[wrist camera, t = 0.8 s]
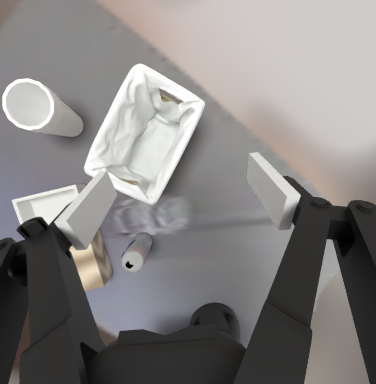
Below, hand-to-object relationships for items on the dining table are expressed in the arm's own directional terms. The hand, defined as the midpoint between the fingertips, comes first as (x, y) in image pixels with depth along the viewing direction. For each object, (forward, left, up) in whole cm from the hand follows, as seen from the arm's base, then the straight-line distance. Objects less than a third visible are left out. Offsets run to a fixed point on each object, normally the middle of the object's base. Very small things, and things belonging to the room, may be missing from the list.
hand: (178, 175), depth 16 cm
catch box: (-2, +34, -32) cm, 47 cm away
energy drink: (-16, +15, -33) cm, 39 cm away
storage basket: (+9, +5, -33) cm, 34 cm away
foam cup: (+20, +25, -33) cm, 45 cm away
